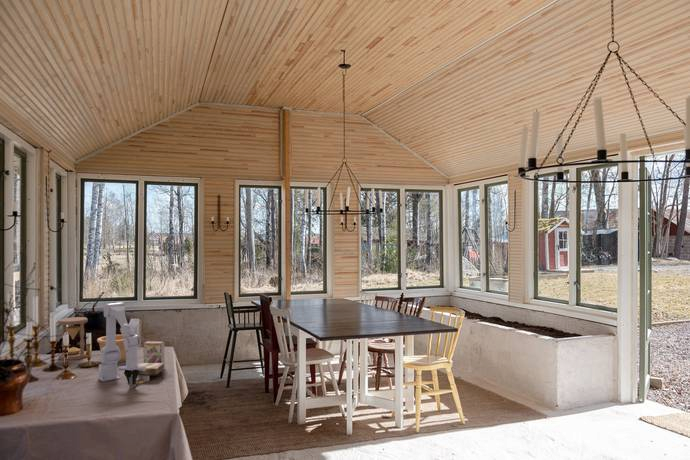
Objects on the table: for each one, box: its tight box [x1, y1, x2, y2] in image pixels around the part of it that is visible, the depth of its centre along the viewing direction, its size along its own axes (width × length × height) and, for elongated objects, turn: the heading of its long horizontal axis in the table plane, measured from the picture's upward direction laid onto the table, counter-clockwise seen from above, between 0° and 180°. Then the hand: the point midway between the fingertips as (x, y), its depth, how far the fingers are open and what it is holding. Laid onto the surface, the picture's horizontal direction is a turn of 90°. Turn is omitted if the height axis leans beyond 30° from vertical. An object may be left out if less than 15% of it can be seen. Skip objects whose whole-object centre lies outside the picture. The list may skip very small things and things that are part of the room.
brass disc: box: [135, 380, 146, 385], centre depth 306 cm, size 5×5×1 cm
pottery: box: [96, 334, 126, 364], centre depth 358 cm, size 22×22×14 cm
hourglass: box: [57, 316, 89, 361], centre depth 367 cm, size 18×18×25 cm
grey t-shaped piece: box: [128, 376, 151, 389], centre depth 302 cm, size 8×15×6 cm, turn 178°
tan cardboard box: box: [137, 362, 166, 377], centre depth 315 cm, size 17×12×7 cm
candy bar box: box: [143, 340, 166, 369], centre depth 333 cm, size 11×5×16 cm, turn 84°
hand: (131, 384), depth 296 cm, fingers closed on grey t-shaped piece
